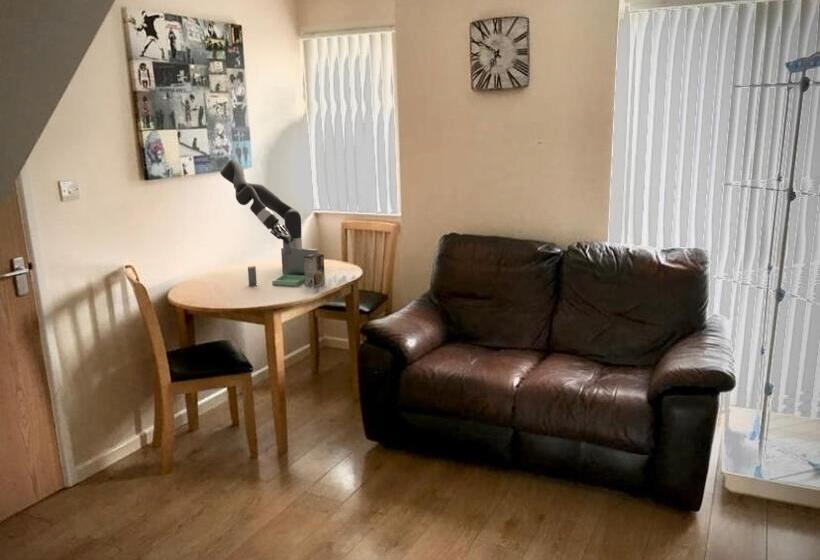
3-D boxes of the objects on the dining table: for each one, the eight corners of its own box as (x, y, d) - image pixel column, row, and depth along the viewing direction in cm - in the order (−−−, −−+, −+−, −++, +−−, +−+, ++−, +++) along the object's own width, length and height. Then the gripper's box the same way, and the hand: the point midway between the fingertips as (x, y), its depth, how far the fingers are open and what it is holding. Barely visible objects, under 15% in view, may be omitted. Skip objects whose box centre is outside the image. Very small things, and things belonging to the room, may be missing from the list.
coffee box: (315, 282, 354) (314, 252, 350) (325, 284, 351) (324, 254, 347) (304, 286, 347) (303, 256, 343) (314, 288, 344) (313, 257, 340)
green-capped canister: (285, 253, 353) (284, 234, 351) (292, 253, 352) (291, 234, 350) (282, 254, 349) (281, 236, 347) (289, 255, 348) (288, 236, 346)
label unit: (286, 274, 372) (285, 246, 368) (320, 276, 367) (319, 247, 363) (280, 278, 364) (279, 249, 360) (315, 280, 359) (313, 250, 355)
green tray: (283, 278, 362) (283, 274, 362) (307, 280, 359) (306, 275, 359) (272, 285, 350) (272, 280, 349) (296, 286, 346) (296, 282, 346)
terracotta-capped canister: (251, 284, 352) (249, 265, 350) (258, 284, 351) (256, 265, 349) (247, 285, 349) (246, 267, 346) (254, 286, 348) (253, 267, 345)
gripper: (269, 221, 357) (291, 244, 357) (257, 225, 343) (280, 249, 343) (278, 211, 354) (300, 235, 354) (265, 215, 341) (289, 240, 341)
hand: (290, 242), depth 349 cm, fingers closed on green-capped canister, 4 cm apart
